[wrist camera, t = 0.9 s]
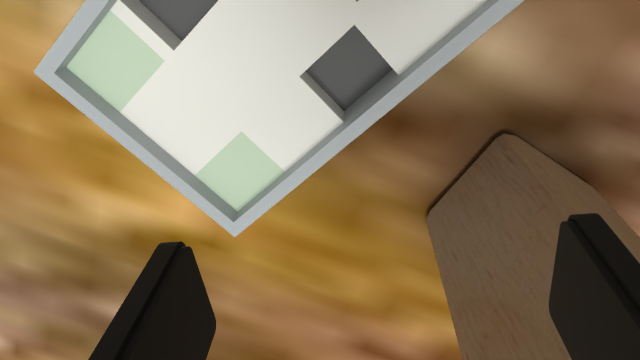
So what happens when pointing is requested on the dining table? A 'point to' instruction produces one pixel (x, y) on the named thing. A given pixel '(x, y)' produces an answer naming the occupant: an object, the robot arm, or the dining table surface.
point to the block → (510, 249)
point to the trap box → (251, 83)
